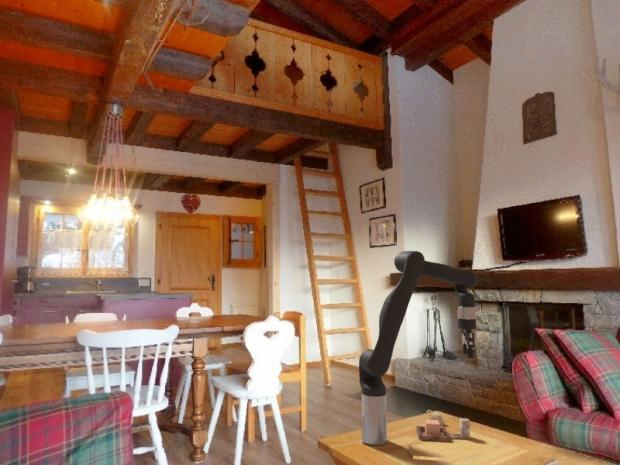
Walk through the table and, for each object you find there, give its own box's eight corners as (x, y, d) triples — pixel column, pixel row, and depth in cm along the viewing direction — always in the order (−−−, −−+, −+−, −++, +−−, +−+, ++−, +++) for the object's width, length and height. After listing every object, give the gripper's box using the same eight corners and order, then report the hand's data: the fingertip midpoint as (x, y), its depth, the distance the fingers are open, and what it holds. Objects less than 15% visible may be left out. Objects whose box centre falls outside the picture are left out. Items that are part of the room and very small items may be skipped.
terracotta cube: (426, 437, 164) (426, 423, 165) (425, 432, 169) (424, 419, 169) (440, 438, 163) (439, 424, 164) (438, 433, 168) (437, 420, 169)
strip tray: (419, 442, 161) (418, 422, 162) (416, 432, 172) (416, 413, 173) (472, 445, 159) (471, 424, 159) (466, 434, 170) (465, 415, 170)
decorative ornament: (439, 429, 176) (438, 415, 177) (425, 423, 184) (425, 410, 185) (447, 428, 178) (446, 414, 179) (433, 422, 186) (432, 409, 186)
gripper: (454, 316, 195) (455, 353, 193) (461, 318, 181) (462, 358, 179) (472, 316, 193) (473, 353, 192) (479, 319, 179) (481, 359, 178)
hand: (468, 356), depth 185 cm, fingers open, 8 cm apart
